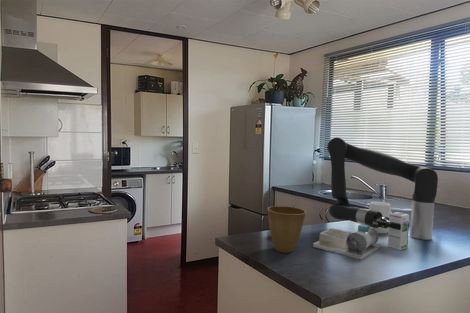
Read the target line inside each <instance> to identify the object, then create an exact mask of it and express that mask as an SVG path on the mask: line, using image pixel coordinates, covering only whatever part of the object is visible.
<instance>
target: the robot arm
mask: <svg viewBox="0 0 470 313" xmlns="http://www.w3.org/2000/svg"><path fill="white" fill-rule="evenodd" d="M326 149H327V152H328V154H329V158H330V165H331V176H330V177H331V178H330V179H331V181H330V186H331V187H330V189H331V190H330V191H331V197H332V198H333V199H336V202H337V203H333V204H331V205H330V207H329V209H328V213H329V215H330V216H331V217H332V218H334V219H336V220H341V221H342V220H343V221H350V222H353V223H357V224H359V225H361V224H364V225H369V227H373V228H379V227H382V228H393V229H397V230H400V229H401V225H400V224H396V223H392V222H389V217H386V216H384V217H383V216H382V214H381V212H378V211H374V210H369V208H363V207H362V208H361V207H357V206H351V205H350V202H349V198H348V196H347V181H346V170H345V160H350V161H353V162H354V163H357V164H359V165H361V166H363V167H366V168H368V169H370V170H374V171H376V172H379V173H382V174H387V175H392V176H397V177H399V178H403V179H405V180H408V181H410V182H412V183H414V192H413V193H412V197H411V198H412V200H411V212H410V213H411V214H410V223H409V236H410V237H411V238H413V239H418V240H423V241H424V240H425V241H431V240H432V238H433V228H434V213H435V212H434V211H435V201H436V197H437V193H438V192H437V191H438V183H439V176H438V174H437V171H435V170H434V169H432V168H431V167H427V166H421V165H416V164H414V163H413V164H412V163H408V162H405V161H404V160H401V159H400V158H398V157H394V156H392V155H390V154H388V153H384V152H382V151H378V150H375V149H370V148H365V147H364V148H363V147H359V146H356V145H353V144H351V143H348V142H346V141H345V140H344V139H343V138H341V137H338V136H337V137H332V138H331V139H330V140H329V142H328V143H327V147H326Z"/></svg>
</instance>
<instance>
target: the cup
mask: <svg viewBox="0 0 470 313" xmlns="http://www.w3.org/2000/svg"><path fill="white" fill-rule="evenodd" d="M368 209H369V210H374V211H378V212H381V214H382V216H383V217H384V216H386V217H389V215H390V213H393V212H392V208H391V204H390V203H388V202H384V201H371V202H370V204H369V207H368ZM371 228H373V227H371ZM373 229H375V230H376V231H377V233H378V234H382V233H386V234H388V233H389V228H382V227H379V228H373Z"/></svg>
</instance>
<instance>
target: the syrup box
mask: <svg viewBox="0 0 470 313" xmlns="http://www.w3.org/2000/svg"><path fill="white" fill-rule="evenodd" d="M389 222H392V223H396V224H400V225H401V229H400V230H397V229H393V228H389V233H387V234H388V238H387V247H388V248H391V247H392V248H391V249H394V248H395V250H399V251H402V250H404V249H408V247H409V246H408V244H409V232H410V214H408V213H405V212H398V211H396V212H392V213H390V215H389Z"/></svg>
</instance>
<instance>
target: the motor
mask: <svg viewBox="0 0 470 313" xmlns="http://www.w3.org/2000/svg"><path fill="white" fill-rule="evenodd" d="M378 240H379V233H377V231H376V230H375V229H373V228H371V227H369V225H364V224H359V225H358V226H357V231H356V232H351V231H347V230H346V231H345V230H342V229H337V228H329V229H326V230H324V231H321V232H319V240H318V241H315V242H312V247H313V248H314V249H315V248H316V249H319V250H323V251H328V252H331V253H335V254H338V255H343V256H346V257H348V258H349V257H350V258H352V259H353V258H354V259H356V260H363V259H365V258H366V257H368V256H369V255H371V254H373V253H374V252H376V251H378V250H379V249H380V246H381V245H380V244H379V243H377V242H378Z"/></svg>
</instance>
